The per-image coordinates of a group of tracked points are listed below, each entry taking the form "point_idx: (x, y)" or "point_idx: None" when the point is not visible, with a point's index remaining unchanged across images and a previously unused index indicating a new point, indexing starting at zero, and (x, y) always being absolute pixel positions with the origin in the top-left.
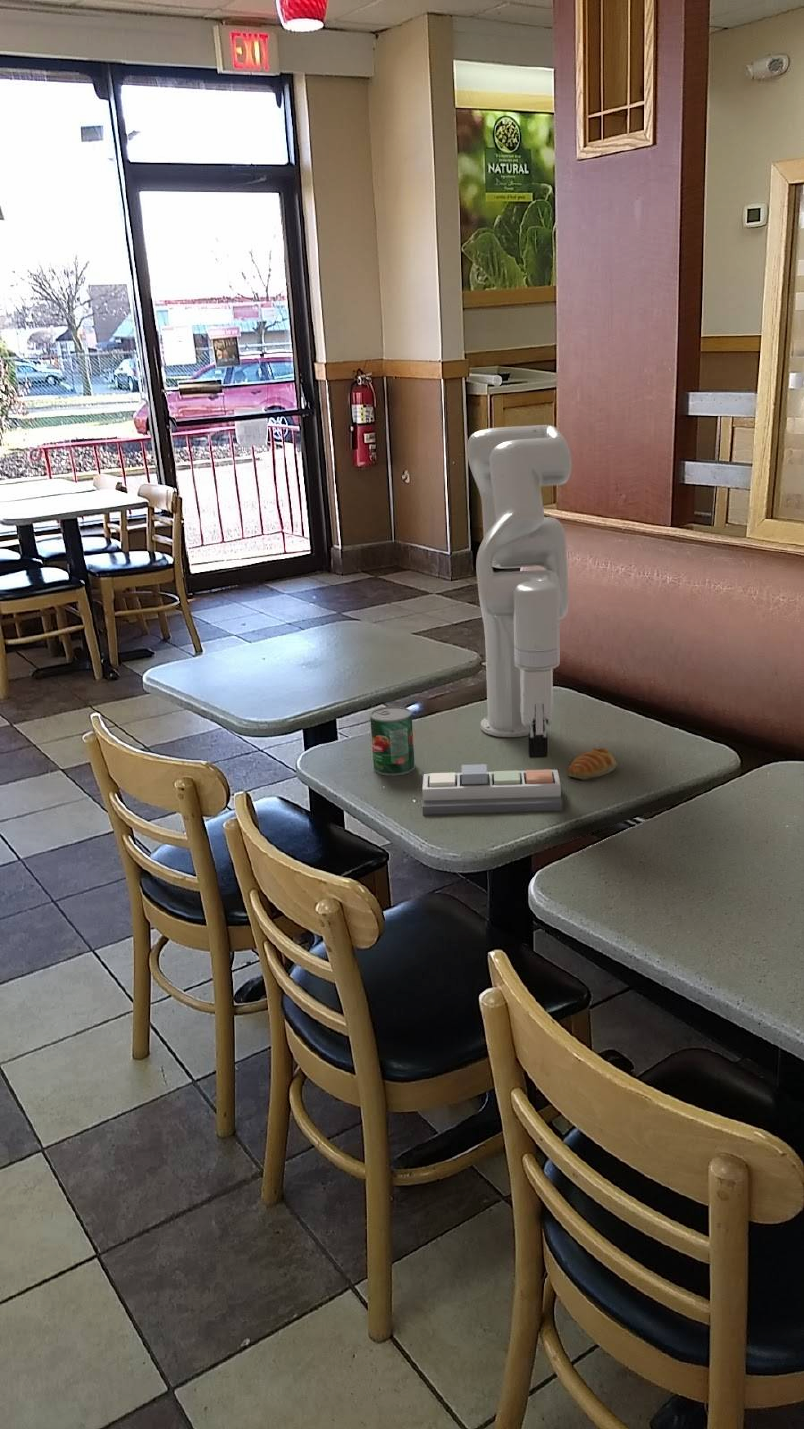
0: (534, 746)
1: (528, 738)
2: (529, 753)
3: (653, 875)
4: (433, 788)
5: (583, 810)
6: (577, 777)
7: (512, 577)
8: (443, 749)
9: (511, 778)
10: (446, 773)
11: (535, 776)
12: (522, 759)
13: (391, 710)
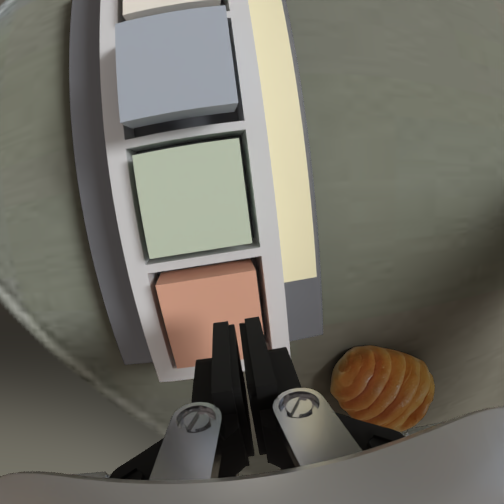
0: (194, 386)
1: (252, 370)
2: (213, 333)
3: None
4: None
5: (143, 393)
6: (333, 371)
7: None
8: (487, 39)
9: (161, 222)
10: None
11: (191, 312)
12: (461, 217)
13: None
